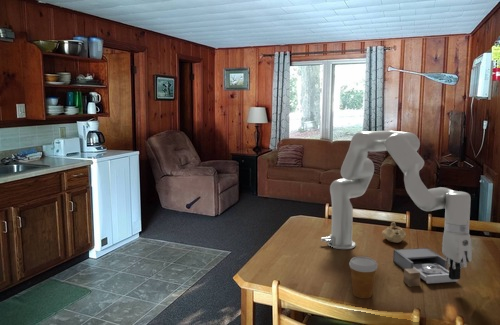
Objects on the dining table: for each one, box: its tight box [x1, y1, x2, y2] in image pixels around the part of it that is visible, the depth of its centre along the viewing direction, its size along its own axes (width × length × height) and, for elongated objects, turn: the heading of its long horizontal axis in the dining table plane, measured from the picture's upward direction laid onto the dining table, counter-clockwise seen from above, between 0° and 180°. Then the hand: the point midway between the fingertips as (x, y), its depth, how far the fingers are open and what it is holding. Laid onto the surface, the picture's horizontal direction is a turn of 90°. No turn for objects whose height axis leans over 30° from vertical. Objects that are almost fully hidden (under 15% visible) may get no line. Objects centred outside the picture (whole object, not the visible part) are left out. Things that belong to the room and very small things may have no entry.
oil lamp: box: [381, 221, 407, 244], centre depth 191 cm, size 11×15×8 cm
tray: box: [413, 263, 459, 284], centre depth 152 cm, size 12×14×3 cm
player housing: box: [392, 247, 448, 270], centre depth 161 cm, size 15×14×5 cm
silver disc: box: [421, 264, 441, 275], centre depth 153 cm, size 7×7×2 cm
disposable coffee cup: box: [348, 256, 379, 299], centre depth 138 cm, size 10×10×12 cm
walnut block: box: [403, 268, 421, 287], centre depth 146 cm, size 4×4×5 cm
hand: (454, 278), depth 139 cm, fingers closed
